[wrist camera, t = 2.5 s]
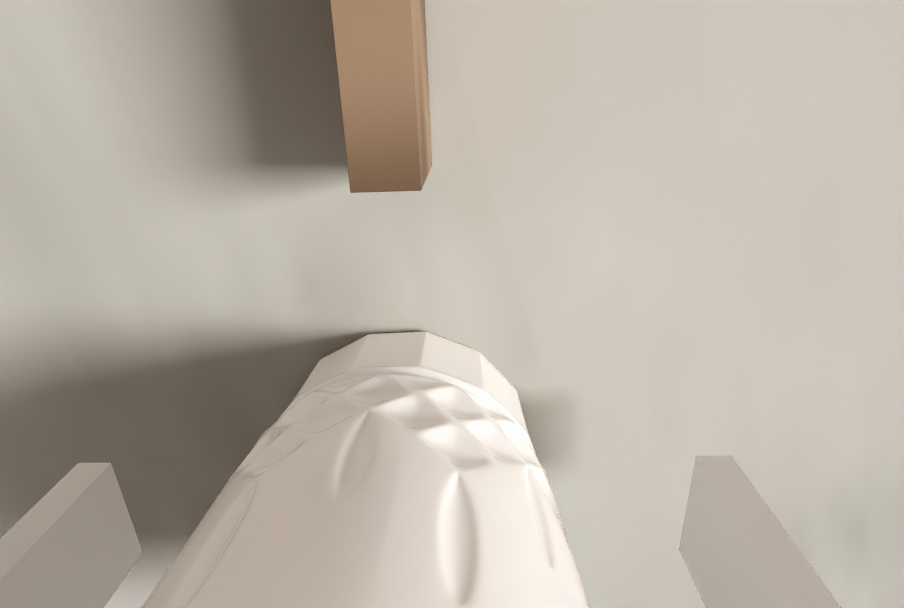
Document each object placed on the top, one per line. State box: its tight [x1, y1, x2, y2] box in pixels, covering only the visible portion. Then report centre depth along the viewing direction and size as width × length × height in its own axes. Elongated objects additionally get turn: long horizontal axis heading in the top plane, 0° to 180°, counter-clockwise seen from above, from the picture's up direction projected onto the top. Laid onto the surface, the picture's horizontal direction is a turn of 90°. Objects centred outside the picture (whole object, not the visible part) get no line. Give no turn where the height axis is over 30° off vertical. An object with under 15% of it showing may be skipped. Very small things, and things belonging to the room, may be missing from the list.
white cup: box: [141, 331, 589, 608], centre depth 10 cm, size 8×8×10 cm
